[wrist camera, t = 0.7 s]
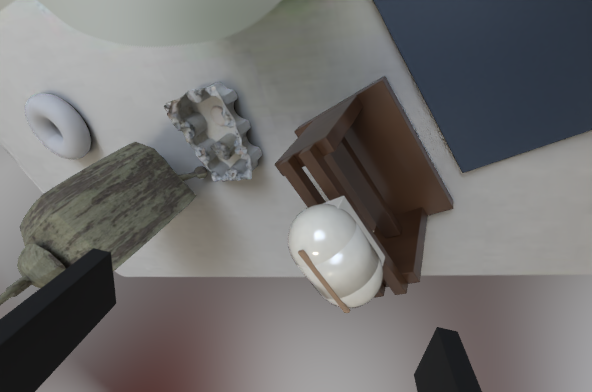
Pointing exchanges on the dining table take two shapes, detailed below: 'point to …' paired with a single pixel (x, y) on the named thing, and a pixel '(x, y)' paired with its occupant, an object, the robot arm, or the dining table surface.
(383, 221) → the rack
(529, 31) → the mat
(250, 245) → the dining table surface
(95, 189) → the tabletop clock
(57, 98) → the donut
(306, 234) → the white dome-topped canister
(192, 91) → the egg carton
